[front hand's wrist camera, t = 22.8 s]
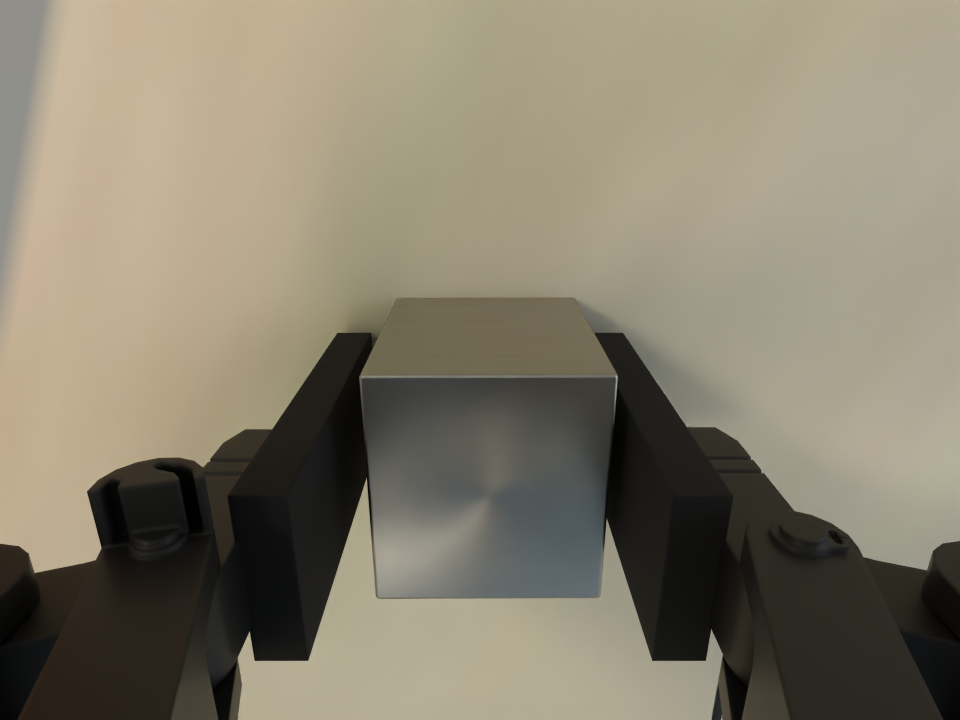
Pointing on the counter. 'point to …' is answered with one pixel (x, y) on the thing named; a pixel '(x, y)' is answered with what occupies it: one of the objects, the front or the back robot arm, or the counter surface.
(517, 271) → the counter surface
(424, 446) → the metal block
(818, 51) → the counter surface
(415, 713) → the counter surface
